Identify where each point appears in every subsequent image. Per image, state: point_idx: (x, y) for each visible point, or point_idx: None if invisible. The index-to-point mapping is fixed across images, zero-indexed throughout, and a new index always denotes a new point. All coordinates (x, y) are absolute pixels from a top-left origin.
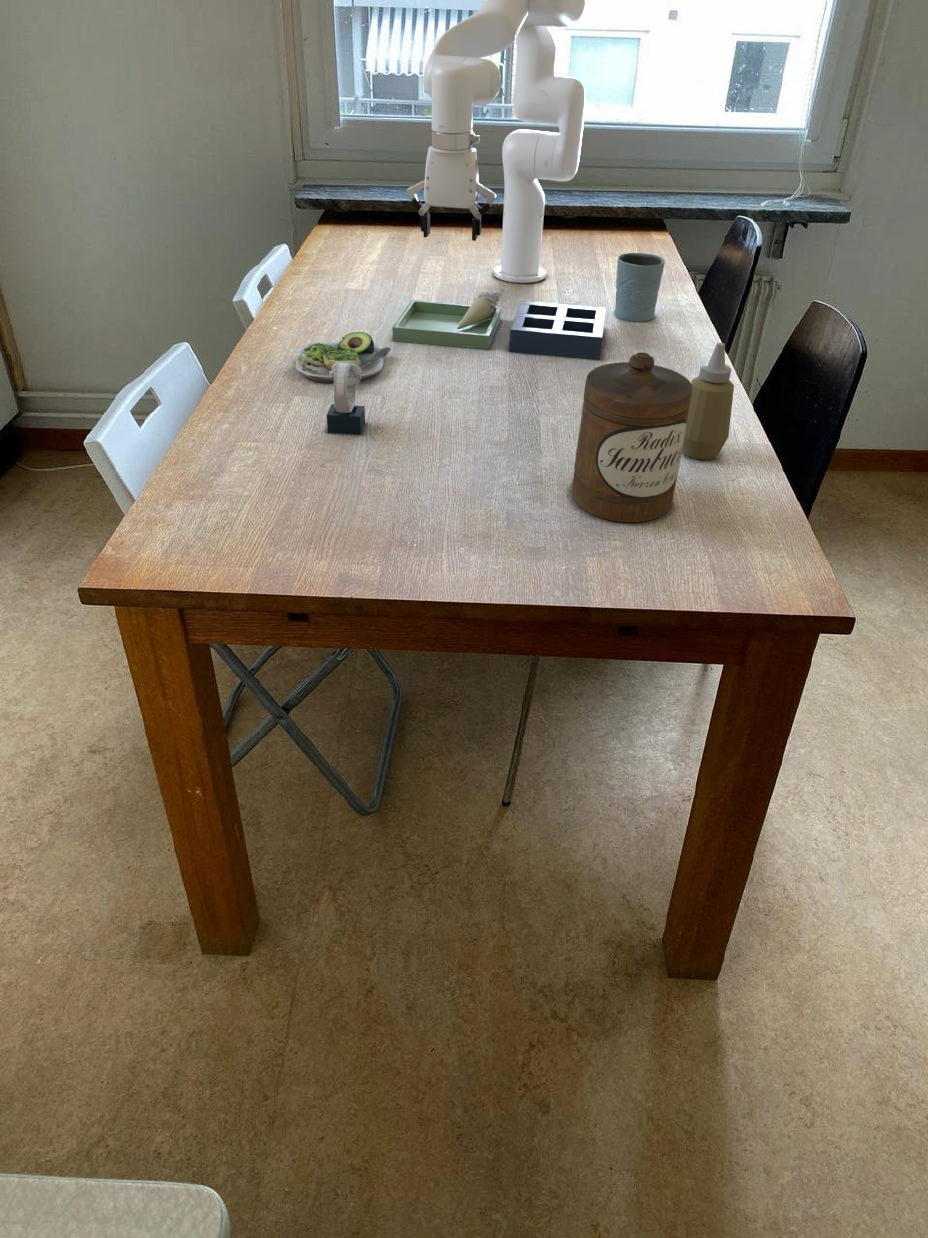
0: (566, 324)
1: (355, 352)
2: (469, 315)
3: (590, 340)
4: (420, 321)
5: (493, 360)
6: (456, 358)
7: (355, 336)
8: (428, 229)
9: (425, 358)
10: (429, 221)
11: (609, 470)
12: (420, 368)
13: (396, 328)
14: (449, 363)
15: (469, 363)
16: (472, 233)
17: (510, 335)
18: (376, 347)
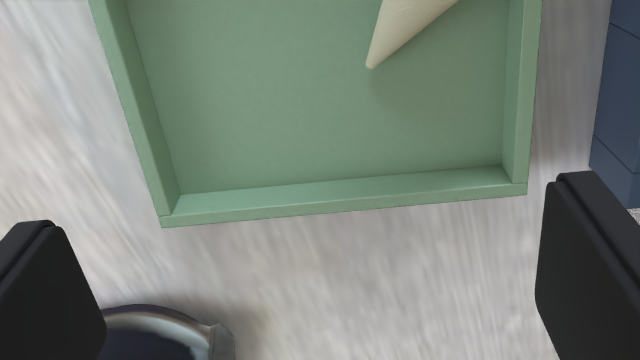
0: None
1: None
2: (415, 25)
3: None
4: (182, 6)
5: (537, 244)
6: (419, 263)
7: None
8: (67, 325)
9: (328, 288)
10: (9, 334)
11: None
12: (338, 345)
13: (177, 226)
14: (407, 299)
15: (465, 283)
16: (560, 349)
17: (616, 196)
18: (187, 337)
